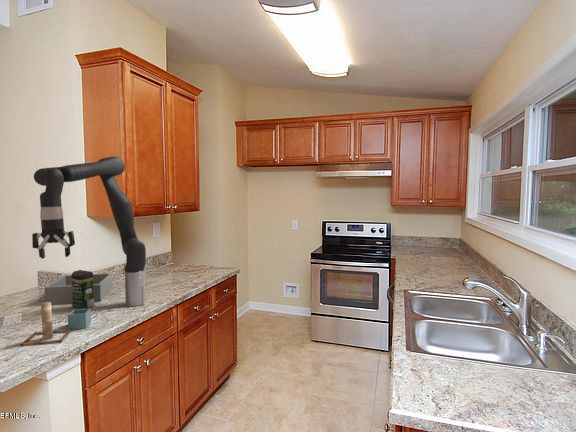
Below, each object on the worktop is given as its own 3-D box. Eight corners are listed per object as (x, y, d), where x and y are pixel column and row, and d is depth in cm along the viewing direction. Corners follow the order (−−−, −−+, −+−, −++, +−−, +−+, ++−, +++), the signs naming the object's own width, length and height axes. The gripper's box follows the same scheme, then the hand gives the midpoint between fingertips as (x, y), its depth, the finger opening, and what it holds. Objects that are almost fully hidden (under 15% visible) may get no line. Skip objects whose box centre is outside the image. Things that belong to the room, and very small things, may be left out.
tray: (71, 332, 139) (71, 329, 139) (61, 344, 128) (61, 340, 128) (35, 335, 136) (34, 332, 136) (21, 348, 125) (20, 343, 125)
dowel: (54, 336, 134) (52, 301, 133) (50, 339, 131) (49, 304, 130) (44, 337, 133) (43, 302, 132) (41, 340, 130) (39, 304, 129)
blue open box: (91, 324, 148) (90, 308, 148) (86, 330, 142) (85, 313, 141) (74, 325, 147) (73, 309, 146) (68, 331, 140) (67, 315, 140)
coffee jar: (69, 308, 168) (67, 271, 167) (84, 303, 175) (83, 268, 174) (82, 311, 164) (81, 273, 163) (97, 306, 171) (96, 269, 170)
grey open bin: (112, 288, 204) (112, 273, 203) (100, 301, 179) (100, 284, 178) (64, 290, 197) (64, 275, 197) (45, 304, 173) (44, 287, 172)
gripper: (75, 216, 143) (77, 254, 145) (35, 217, 139) (38, 256, 141) (69, 218, 136) (72, 257, 138) (27, 219, 132) (30, 260, 134)
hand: (55, 257), depth 139 cm, fingers open, 8 cm apart
